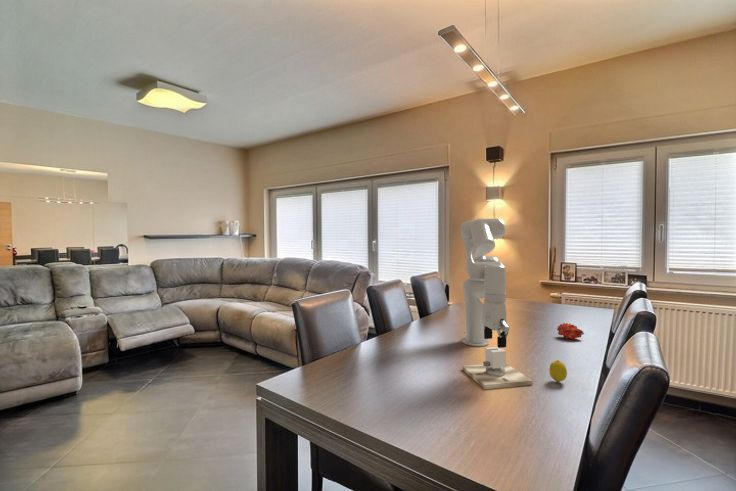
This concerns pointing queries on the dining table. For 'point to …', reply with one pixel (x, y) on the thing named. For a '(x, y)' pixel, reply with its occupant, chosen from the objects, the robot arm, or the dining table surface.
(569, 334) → the dragon fruit
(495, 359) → the white box
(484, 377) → the base
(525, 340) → the dining table surface
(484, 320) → the robot arm
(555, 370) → the lemon
